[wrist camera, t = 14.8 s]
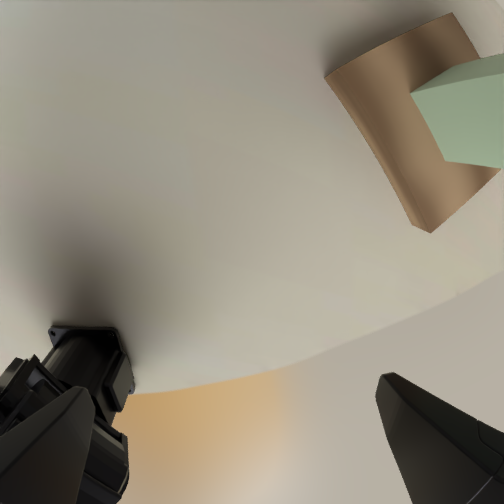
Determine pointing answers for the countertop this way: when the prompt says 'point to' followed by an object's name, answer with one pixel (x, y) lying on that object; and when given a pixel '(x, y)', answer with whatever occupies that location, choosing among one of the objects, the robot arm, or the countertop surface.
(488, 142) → the sage block
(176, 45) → the countertop surface
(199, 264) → the countertop surface
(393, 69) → the walnut plinth
